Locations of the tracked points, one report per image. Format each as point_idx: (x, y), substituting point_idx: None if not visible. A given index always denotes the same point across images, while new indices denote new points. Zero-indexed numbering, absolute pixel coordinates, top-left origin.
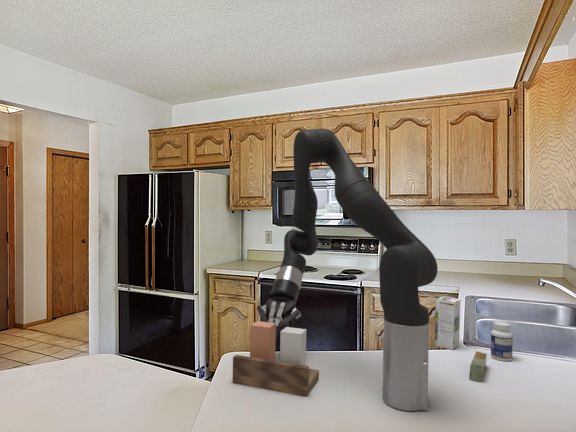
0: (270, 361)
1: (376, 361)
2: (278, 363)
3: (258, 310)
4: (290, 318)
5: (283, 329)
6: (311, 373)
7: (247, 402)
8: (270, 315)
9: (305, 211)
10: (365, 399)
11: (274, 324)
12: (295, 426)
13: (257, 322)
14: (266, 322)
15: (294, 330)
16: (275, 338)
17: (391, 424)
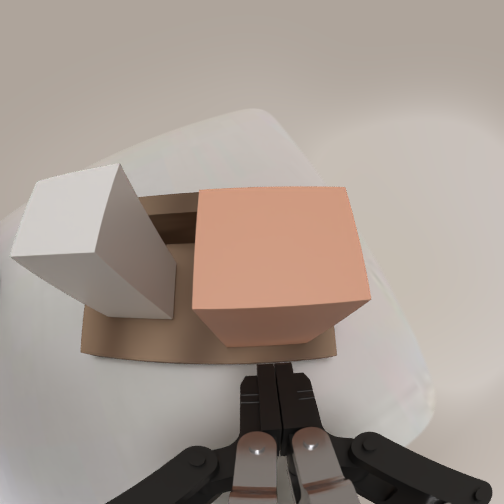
0: (186, 202)
1: (23, 483)
2: (156, 199)
3: (465, 479)
4: (138, 494)
5: (107, 198)
6: (94, 319)
7: (225, 172)
8: (340, 488)
9: None
10: (18, 279)
11: (193, 279)
12: (122, 152)
13: (346, 260)
14: (281, 296)
15: (54, 210)
16: (212, 330)
17: (9, 219)
